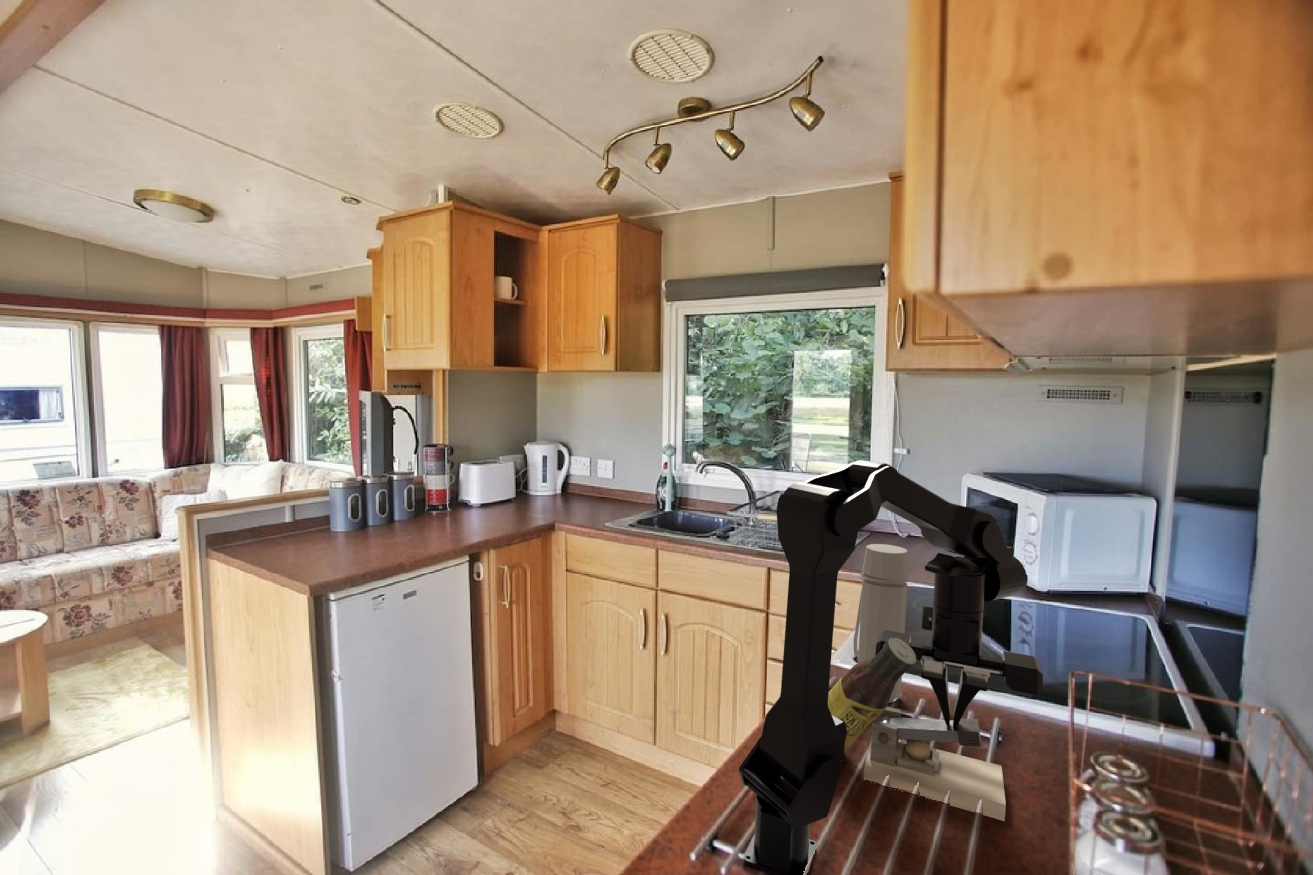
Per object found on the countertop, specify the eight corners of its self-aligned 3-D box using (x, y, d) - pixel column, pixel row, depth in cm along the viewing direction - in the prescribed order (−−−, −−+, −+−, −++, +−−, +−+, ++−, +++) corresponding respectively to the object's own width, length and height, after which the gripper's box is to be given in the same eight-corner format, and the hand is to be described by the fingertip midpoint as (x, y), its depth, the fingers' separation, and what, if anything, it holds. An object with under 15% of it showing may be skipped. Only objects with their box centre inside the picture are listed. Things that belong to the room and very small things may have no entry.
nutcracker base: (1004, 821, 73) (1008, 763, 73) (863, 779, 80) (866, 727, 80) (1000, 780, 81) (1004, 728, 81) (872, 746, 88) (875, 698, 88)
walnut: (928, 770, 79) (930, 747, 79) (903, 763, 81) (905, 741, 81) (929, 758, 82) (931, 736, 82) (905, 752, 83) (906, 730, 83)
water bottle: (911, 700, 103) (921, 551, 101) (878, 710, 99) (888, 556, 97) (868, 677, 111) (876, 539, 109) (836, 685, 107) (844, 543, 105)
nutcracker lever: (980, 746, 76) (978, 731, 76) (878, 739, 82) (876, 726, 82) (980, 733, 80) (977, 718, 80) (881, 727, 85) (879, 714, 85)
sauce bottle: (812, 760, 83) (893, 672, 74) (794, 716, 88) (867, 628, 78) (850, 758, 86) (933, 673, 76) (830, 716, 91) (906, 630, 81)
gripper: (1036, 600, 82) (1029, 715, 83) (886, 579, 90) (881, 683, 91) (1047, 627, 72) (1038, 757, 73) (877, 600, 80) (871, 717, 81)
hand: (951, 724), depth 79 cm, fingers closed
